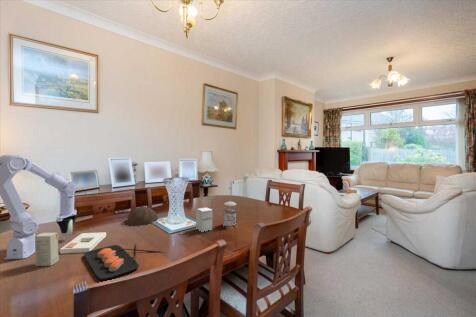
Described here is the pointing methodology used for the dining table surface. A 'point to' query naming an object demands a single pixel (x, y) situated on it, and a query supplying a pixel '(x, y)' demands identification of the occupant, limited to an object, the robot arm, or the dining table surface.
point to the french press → (231, 211)
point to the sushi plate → (111, 261)
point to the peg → (69, 229)
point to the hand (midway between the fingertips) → (67, 231)
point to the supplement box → (204, 219)
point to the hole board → (83, 243)
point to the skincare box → (46, 249)
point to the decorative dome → (142, 216)
